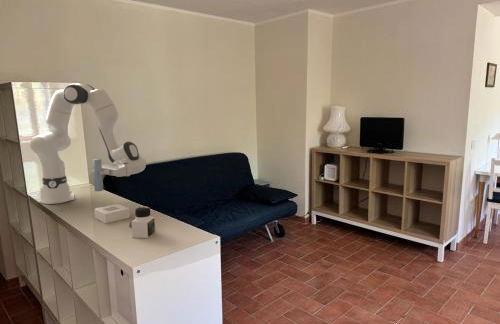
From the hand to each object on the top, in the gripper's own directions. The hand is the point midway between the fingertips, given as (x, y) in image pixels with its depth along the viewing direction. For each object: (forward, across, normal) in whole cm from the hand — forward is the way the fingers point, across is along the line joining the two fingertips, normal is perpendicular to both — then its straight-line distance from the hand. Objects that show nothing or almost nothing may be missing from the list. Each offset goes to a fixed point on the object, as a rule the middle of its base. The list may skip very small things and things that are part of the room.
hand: (96, 172), depth 174 cm
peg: (-1, 0, +10) cm, 10 cm away
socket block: (+2, +14, +21) cm, 25 cm away
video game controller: (+4, +37, +21) cm, 42 cm away
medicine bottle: (+10, +45, +21) cm, 51 cm away
